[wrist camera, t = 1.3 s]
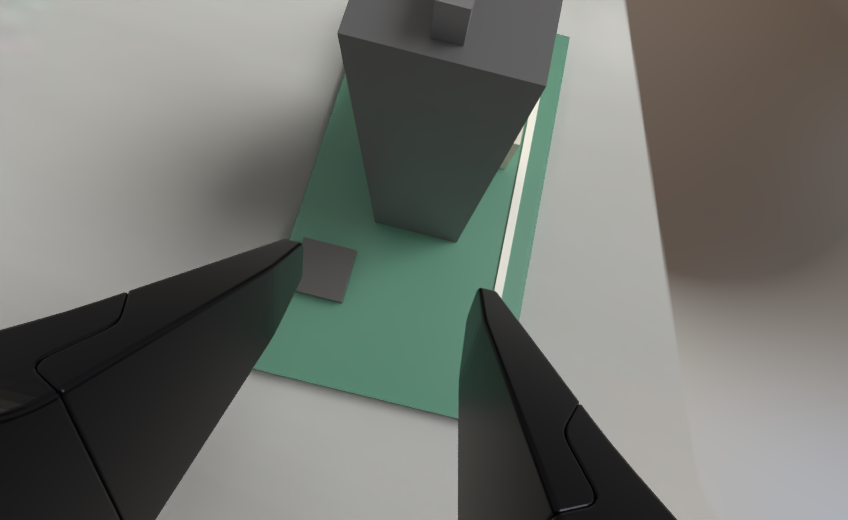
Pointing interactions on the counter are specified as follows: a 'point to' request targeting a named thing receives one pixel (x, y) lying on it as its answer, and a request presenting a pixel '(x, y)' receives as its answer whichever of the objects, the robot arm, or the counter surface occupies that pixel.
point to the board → (404, 270)
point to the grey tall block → (441, 99)
